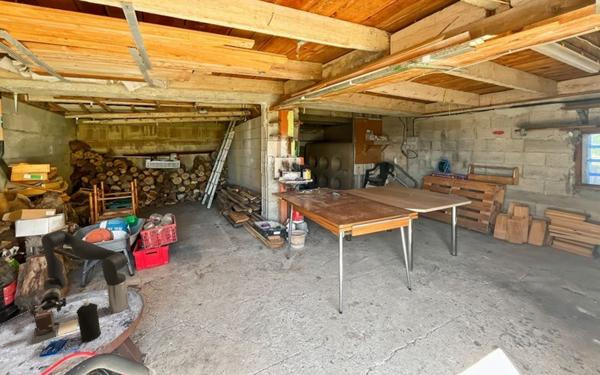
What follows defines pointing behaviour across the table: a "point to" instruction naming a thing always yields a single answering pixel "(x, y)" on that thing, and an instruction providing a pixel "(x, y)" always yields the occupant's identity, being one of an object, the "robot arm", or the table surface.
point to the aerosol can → (88, 322)
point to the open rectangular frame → (43, 336)
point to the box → (44, 322)
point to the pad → (68, 327)
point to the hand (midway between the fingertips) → (47, 313)
